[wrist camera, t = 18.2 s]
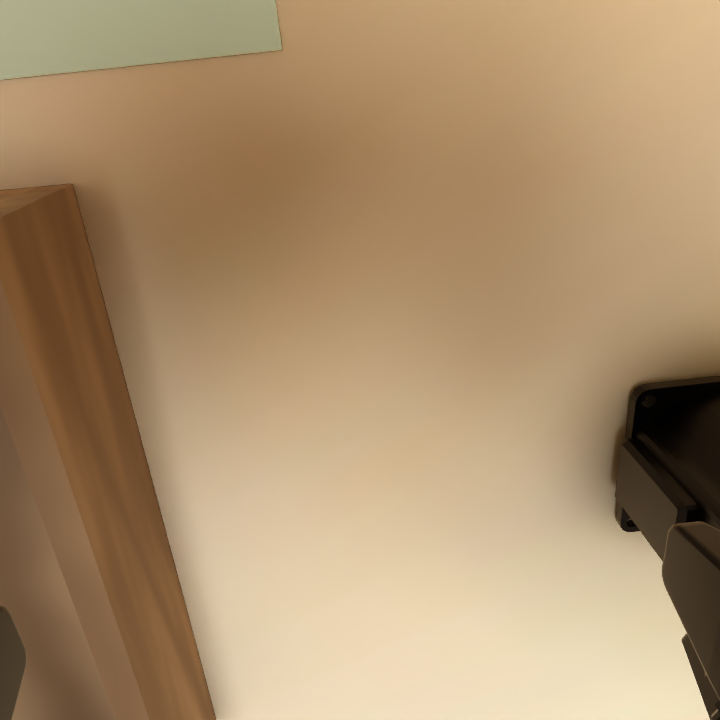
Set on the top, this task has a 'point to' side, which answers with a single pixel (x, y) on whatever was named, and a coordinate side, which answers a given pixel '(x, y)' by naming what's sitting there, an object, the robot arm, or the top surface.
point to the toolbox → (80, 492)
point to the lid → (128, 33)
